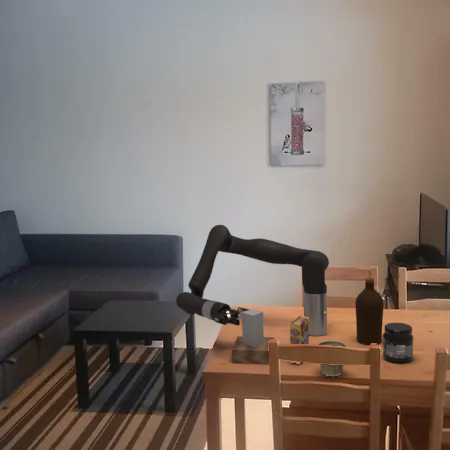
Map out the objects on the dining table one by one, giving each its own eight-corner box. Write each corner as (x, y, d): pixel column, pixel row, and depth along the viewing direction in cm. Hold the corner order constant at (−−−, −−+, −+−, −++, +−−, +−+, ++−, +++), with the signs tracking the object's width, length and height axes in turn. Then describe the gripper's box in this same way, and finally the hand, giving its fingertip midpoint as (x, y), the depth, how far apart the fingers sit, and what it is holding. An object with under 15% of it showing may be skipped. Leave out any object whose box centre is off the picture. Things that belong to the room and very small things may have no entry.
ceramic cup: (314, 377, 206) (314, 349, 204) (320, 366, 215) (320, 339, 213) (353, 382, 201) (353, 353, 200) (357, 370, 211) (357, 342, 209)
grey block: (252, 339, 229) (251, 309, 227) (263, 343, 225) (263, 311, 223) (242, 343, 225) (241, 312, 223) (253, 347, 221) (253, 315, 219)
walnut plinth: (274, 350, 232) (274, 337, 231) (270, 364, 218) (270, 351, 217) (237, 348, 234) (237, 336, 233) (232, 362, 220) (231, 349, 220)
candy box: (300, 365, 216) (300, 324, 214) (289, 363, 218) (288, 322, 216) (309, 356, 224) (309, 317, 221) (298, 355, 226) (298, 315, 223)
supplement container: (396, 350, 227) (397, 320, 225) (419, 359, 218) (420, 327, 216) (376, 357, 222) (376, 325, 220) (399, 366, 213) (399, 333, 211)
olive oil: (377, 347, 231) (378, 283, 227) (351, 342, 237) (351, 280, 232) (386, 338, 240) (387, 277, 235) (360, 334, 245) (361, 274, 241)
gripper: (202, 306, 231) (233, 314, 220) (228, 297, 241) (259, 305, 230) (203, 325, 233) (234, 334, 221) (229, 316, 243) (259, 324, 231)
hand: (247, 319), depth 226 cm, fingers open, 8 cm apart
